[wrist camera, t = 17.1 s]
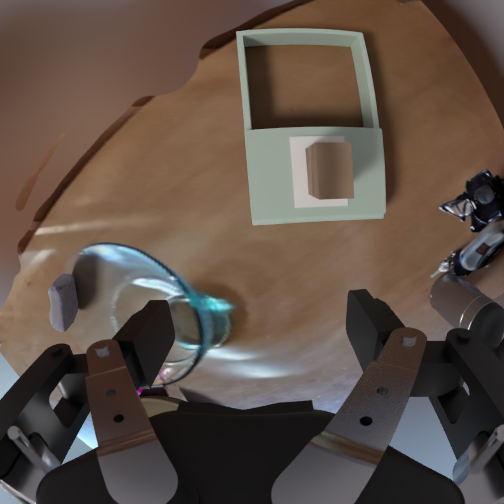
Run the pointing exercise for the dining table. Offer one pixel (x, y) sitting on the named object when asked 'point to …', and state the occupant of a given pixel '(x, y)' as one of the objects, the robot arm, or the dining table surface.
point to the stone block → (63, 302)
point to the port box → (299, 138)
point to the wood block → (330, 170)
